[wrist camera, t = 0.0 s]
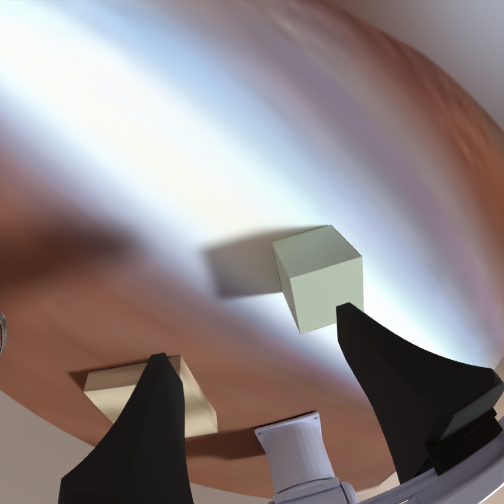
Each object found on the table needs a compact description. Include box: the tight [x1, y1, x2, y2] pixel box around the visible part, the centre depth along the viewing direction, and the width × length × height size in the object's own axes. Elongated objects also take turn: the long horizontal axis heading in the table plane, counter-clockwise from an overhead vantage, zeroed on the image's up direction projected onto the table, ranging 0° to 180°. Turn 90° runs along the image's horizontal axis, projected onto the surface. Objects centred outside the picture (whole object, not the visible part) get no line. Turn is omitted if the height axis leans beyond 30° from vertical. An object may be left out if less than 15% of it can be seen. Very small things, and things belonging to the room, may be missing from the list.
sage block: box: [271, 225, 363, 334], centre depth 20 cm, size 4×4×5 cm
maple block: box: [83, 355, 218, 438], centre depth 26 cm, size 10×10×3 cm
